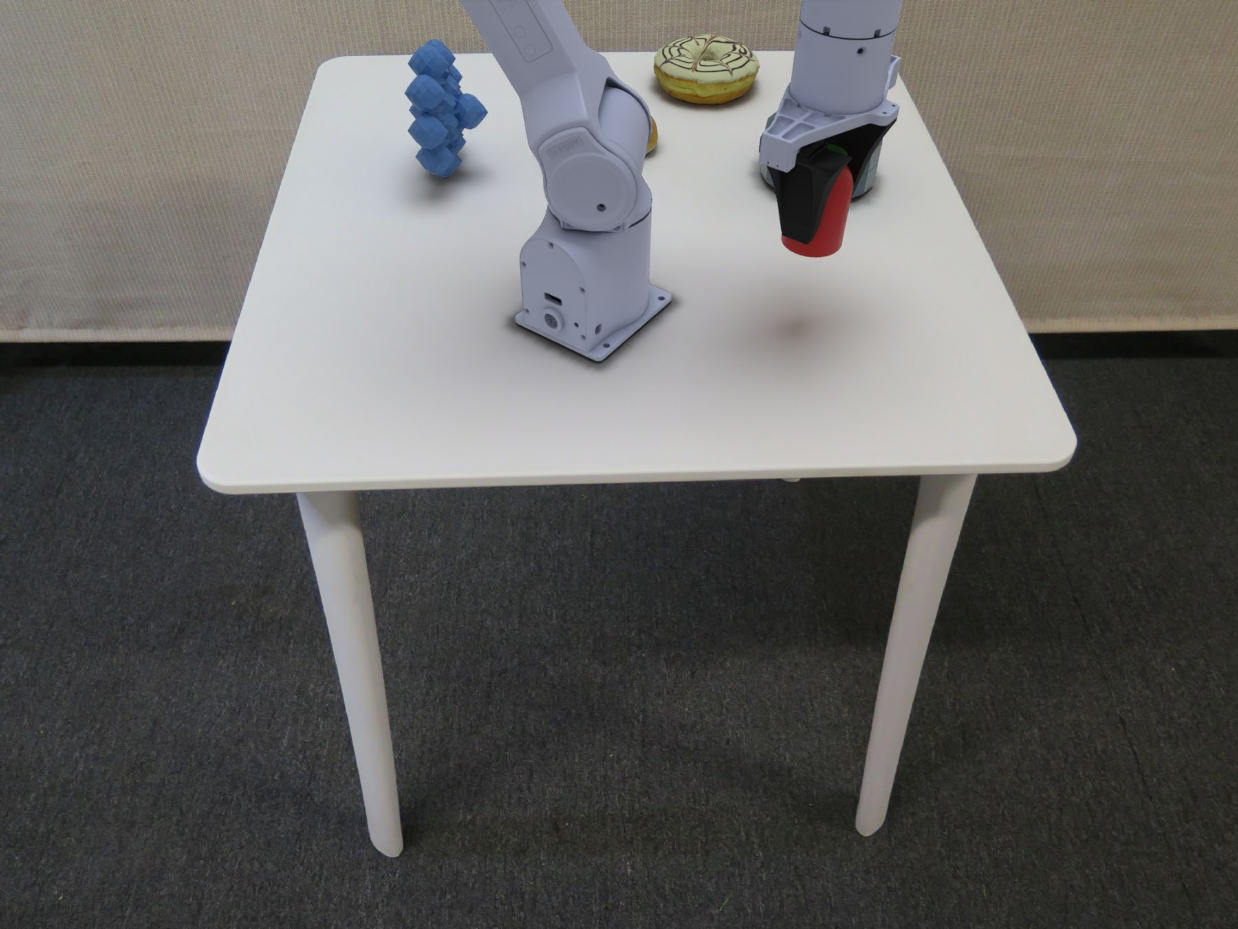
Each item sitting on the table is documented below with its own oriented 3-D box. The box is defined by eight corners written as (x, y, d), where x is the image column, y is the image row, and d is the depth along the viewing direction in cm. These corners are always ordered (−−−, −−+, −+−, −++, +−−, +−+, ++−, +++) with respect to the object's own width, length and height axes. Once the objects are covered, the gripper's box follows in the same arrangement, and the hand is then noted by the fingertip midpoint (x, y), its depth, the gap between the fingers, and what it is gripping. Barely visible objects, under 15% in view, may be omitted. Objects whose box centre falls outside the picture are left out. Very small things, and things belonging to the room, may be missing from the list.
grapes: (485, 210, 84) (471, 72, 75) (405, 208, 84) (383, 69, 75) (501, 143, 92) (490, 11, 83) (429, 141, 92) (411, 9, 84)
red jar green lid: (823, 264, 67) (840, 176, 62) (769, 243, 68) (781, 156, 64) (852, 237, 69) (870, 150, 64) (799, 217, 71) (813, 131, 66)
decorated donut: (767, 72, 103) (772, 36, 100) (741, 117, 96) (745, 79, 93) (672, 56, 106) (674, 20, 103) (640, 99, 98) (641, 61, 96)
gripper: (852, 82, 52) (813, 293, 62) (962, -2, 60) (913, 196, 70) (738, 47, 55) (718, 254, 65) (858, -28, 63) (824, 166, 73)
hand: (813, 222), depth 68 cm, fingers closed on red jar green lid, 4 cm apart
